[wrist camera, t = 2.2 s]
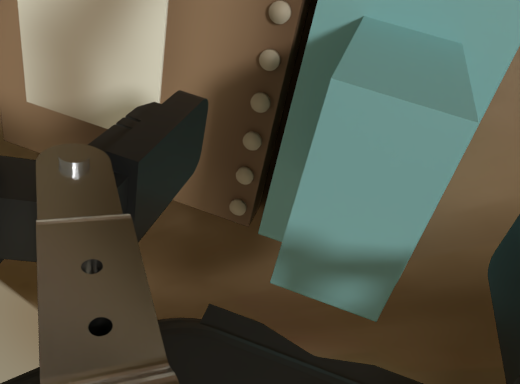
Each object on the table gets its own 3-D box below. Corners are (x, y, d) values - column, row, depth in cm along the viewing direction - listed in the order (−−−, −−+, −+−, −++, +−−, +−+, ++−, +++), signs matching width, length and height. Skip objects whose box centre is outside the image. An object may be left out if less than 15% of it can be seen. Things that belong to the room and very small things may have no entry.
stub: (567, -79, 13) (686, -54, 7) (398, 258, 21) (385, 413, 15) (358, -130, 14) (303, -146, 8) (268, 213, 21) (203, 342, 15)
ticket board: (343, -133, 14) (333, -136, 13) (259, 207, 22) (246, 229, 20) (-5, -218, 16) (-49, -228, 14) (27, 126, 23) (0, 142, 22)
